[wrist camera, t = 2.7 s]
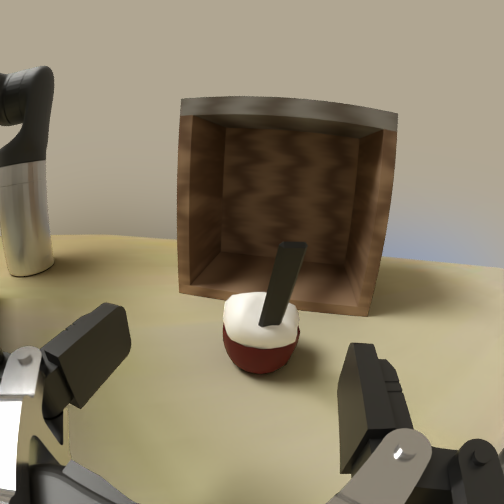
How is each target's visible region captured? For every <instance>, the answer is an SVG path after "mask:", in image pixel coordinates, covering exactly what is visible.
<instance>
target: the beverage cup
mask: <svg viewBox="0 0 504 504" xmlns="http://www.w3.org/2000/svg"><path fill="white" fill-rule="evenodd" d="M498 457H499V460H500V464H501V467H502V470H503V474H504V449H503V450H502V451H501V453H500V454H499V456H498Z"/></svg>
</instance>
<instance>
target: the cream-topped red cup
mask: <svg viewBox="0 0 504 504" xmlns="http://www.w3.org/2000/svg"><path fill="white" fill-rule="evenodd" d="M307 247H308V245H307V243H306V242H285V241H284V242H282V243H281V244H279V246H278V250H277V254H276V258H275V262H274V266H273V270H272V274H271V278H270V282H269V285H268V289H267V293H266V292H251V293H242V294H236V295H232V296H231V297H230V298H229V299H228V300H227V301H226V302H225V305H224V314H223V321H224V324H223V341H224V345H225V348H226V351H227V354H228V356H229V357H230V359H231V360H232V361H233V363H234V364H235V365H236V366H238V367H240V368H241V369H243V370H245V371H247V372H251V373H257V374H264V373H271V372H274V371H275V370H277V369H279V368H281V367H282V366H284V365H286V364H287V362H288V360H289V358H290V357H291V355H292V353H293V351H294V349H295V347H296V345H297V343H298V339H299V335H300V330H299V326H298V324H299V321H300V319H299V314H298V311H297V309H296V306H295V305H293V304H291V303H289V301H290V298H291V295H292V292H293V289H294V286H295V283H296V280H297V277H298V274H299V272H300V269H301V266H302V262H303V259H304V256H305V253H306V250H307Z"/></svg>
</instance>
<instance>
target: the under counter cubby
mask: <svg viewBox="0 0 504 504" xmlns="http://www.w3.org/2000/svg"><path fill="white" fill-rule="evenodd" d="M397 124H398V114H397V113H393V112H388V111H383V110H378V109H373V108H367V107H362V106H355V105H349V104H343V103H335V102H327V101H318V100H308V99H296V98H281V97H253V96H252V97H250V96H249V97H248V96H228V97H201V98H186V99H181V110H180V125H179V126H180V127H179V145H178V173H177V250H178V278H179V293H185V294H191V295H197V296H203V297H209V298H215V299H222V300H228V299H229V298H230V297H231V296H232V295H236V294H242V293H251V292H266V293H267V289H268V285H269V282H270V278H271V274H272V270H273V266H274V262H275V258H276V254H277V250H278V246H279V244H281V243H282V242H284V241H285V242H306V243H307V245H308V247H307V250H306V253H305V256H304V259H303V262H302V266H301V269H300V272H299V274H298V277H297V280H296V283H295V286H294V289H293V292H292V295H291V298H290V301H289V303H291V304H293V305H295V306H296V309H297V310H305V311H314V312H323V313H333V314H344V315H355V316H367V315H368V312H369V308H370V304H371V300H372V296H373V292H374V288H375V284H376V280H377V275H378V271H379V266H380V261H381V257H382V251H383V246H384V241H385V235H386V230H387V223H388V217H389V210H390V203H391V196H392V187H393V179H394V169H395V158H396V143H397Z"/></svg>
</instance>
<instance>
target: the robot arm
mask: <svg viewBox="0 0 504 504" xmlns="http://www.w3.org/2000/svg"><path fill="white" fill-rule="evenodd" d="M53 94H54V76H53V72H52V70H51V69H50V68H49V67H47V66H40V67H35V68H31V69H27V70H23V71H19V72H16V73H12V74H2V73H0V125H1V126H12V125H17V124H21V123H23V125H22V128H21V130H20V132H19V133H18V134H17V135H16V137H15V138H14V139H13V140H12V141H10V142H9V143H8V144H7V145H5V146H4V147H2V148H1V149H0V228H1V235H2V242H3V247H4V253H5V258H6V263H7V268H8V269H9V272H10V274H11V275H14V276H28V275H32V274H36V273H39V272H42V271H44V270H46V269H48V268H49V267H50V266H52V265H53V263H54V257H53V250H52V243H51V235H50V227H49V217H48V205H47V190H46V189H47V188H46V148H47V142H48V132H49V121H50V114H51V107H52V101H53ZM130 349H131V338H130V333H129V327H128V322H127V316H126V311H125V309H124V308H123V307H122V306H118V305H114V304H110V303H103V304H101V305H100V306H99V307H97V308H96V309H95V310H94V311H92V312H91V313H89V314H86V315H84V316H82V317H80V318H79V319H78V320H76V321H75V322H74V323H73V325H70V326H69V327H67V328H66V330H63V331H62V332H61V333H60V334H58V335H57V336H56V337H54V338H53V339H52V340H51V341H49V342H48V343H47V344H46V345H44V346H43V347H42V348H41V349H38V348H36V347H34V346H24V347H21V348H18V349H17V350H15V351H14V352H12V354H10V353H6V352H2V349H1V347H0V504H139V503H135V502H133V501H132V500H130V499H129V498H127V497H126V496H125V495H123V494H122V493H121V492H120V491H118V490H117V489H116V488H115V487H113V486H112V485H111V484H110V483H108V482H107V481H106V480H105V479H104V478H102V477H101V476H99V475H97V474H95V473H94V472H92V471H90V470H88V469H86V468H85V467H83V466H81V465H80V464H78V463H76V462H75V461H73V460H72V458H71V455H70V450H69V426H68V410H67V408H66V406H67V405H68V404H69V403H70V404H72V405H74V406H76V407H78V408H80V409H81V408H82V407H83V406H84V405H85V404H86V403H87V401H88V400H89V399H90V398H91V397H92V396H93V394H94V393H95V392H96V391H97V390H98V389H99V388H100V386H101V385H102V384H103V383H104V382H105V381H106V379H107V378H108V377H109V376H110V375H111V374H112V373H113V371H114V370H115V369H116V368H117V367H118V366H119V365H120V364H121V362H122V361H123V360H124V359H125V358H126V357H127V356H128V354H129V352H130ZM337 398H338V414H339V437H340V474H351V478H352V479H351V480H350V481H349V482H348V483H347V484H346V485H345V486H344V487H343V489H342V490H341V491H340V492H339V493H337V494H336V495H335V496H334V497H333V498H331V499H330V500H329V501H328V502H327V503H326V504H504V474H503V470H502V467H501V464H500V460H499V457H498V454H497V452H496V450H495V448H494V447H493V446H492V445H491V444H490V443H489V442H487V441H485V440H482V439H472V440H469V441H467V442H466V443H465V444H464V445H463V446H462V447H461V448H460V449H459V450H450V449H442V448H436V447H432V446H431V444H430V442H429V440H428V439H427V438H426V437H425V436H424V435H423V434H422V433H420V432H418V431H416V430H414V428H413V425H412V421H411V418H410V414H409V411H408V407H407V404H406V401H405V398H404V394H403V393H402V388H401V385H400V383H399V379H398V376H397V373H396V370H395V369H394V367H393V366H392V365H391V364H390V363H389V362H388V361H387V360H386V359H378V357H377V353H376V350H375V347H374V345H373V344H366V343H350V345H349V348H348V351H347V355H346V358H345V361H344V365H343V368H342V371H341V374H340V378H339V382H338V389H337Z"/></svg>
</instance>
